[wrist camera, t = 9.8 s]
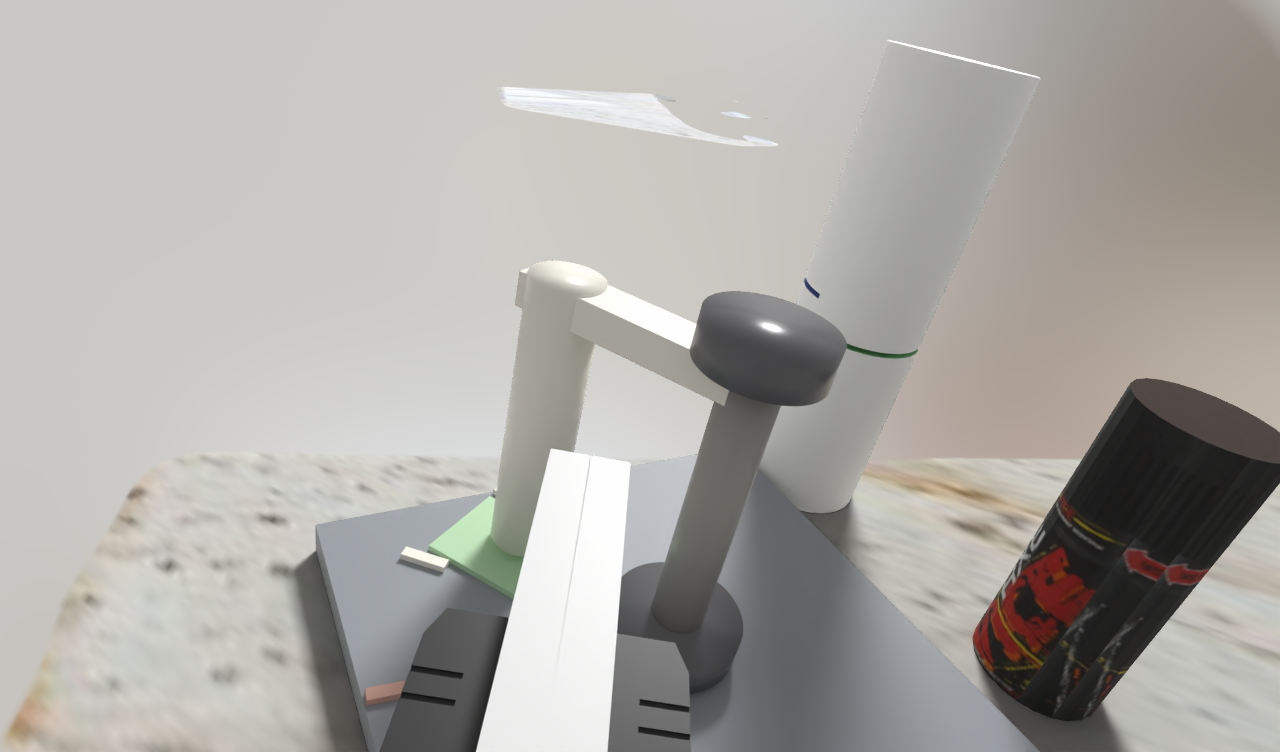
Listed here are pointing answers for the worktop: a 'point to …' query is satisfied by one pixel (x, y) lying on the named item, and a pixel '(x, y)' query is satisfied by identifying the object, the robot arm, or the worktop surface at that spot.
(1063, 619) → the deodorant
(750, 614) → the plate
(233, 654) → the worktop surface
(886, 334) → the cylindrical container
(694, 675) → the post stand with crossbar
